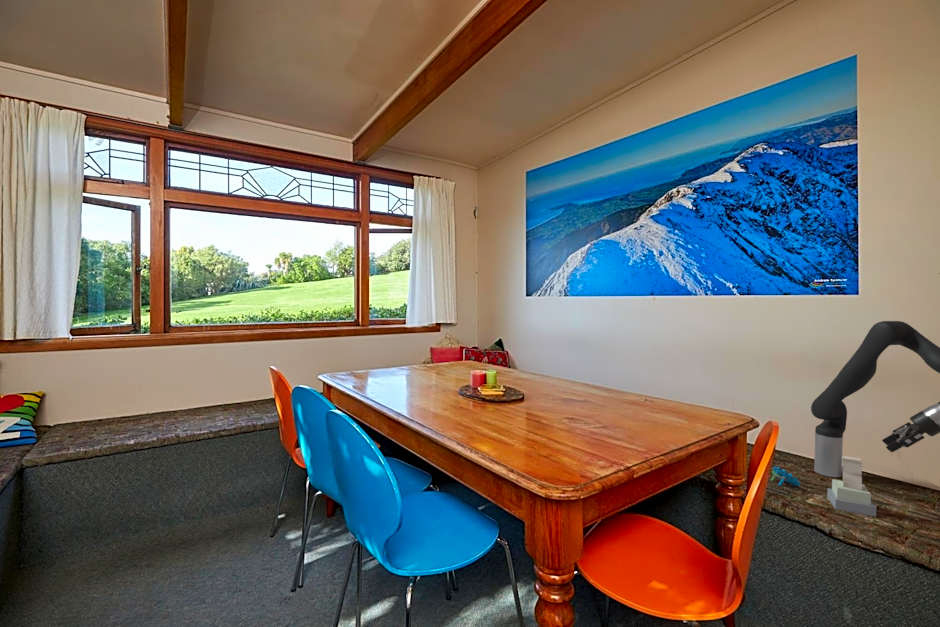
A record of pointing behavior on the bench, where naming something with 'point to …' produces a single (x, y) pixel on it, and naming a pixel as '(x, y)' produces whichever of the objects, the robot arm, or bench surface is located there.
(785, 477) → the blue toy dinosaur
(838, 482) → the tower top
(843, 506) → the tower base
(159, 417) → the bench surface
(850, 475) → the cream block
